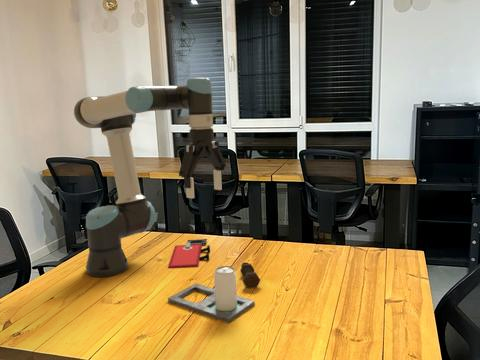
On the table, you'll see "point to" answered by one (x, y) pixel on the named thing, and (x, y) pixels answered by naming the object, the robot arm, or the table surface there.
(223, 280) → the can
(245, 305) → the grey flat frame
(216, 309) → the pad
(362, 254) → the table surface
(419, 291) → the table surface
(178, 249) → the red board with handle
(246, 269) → the bolt
